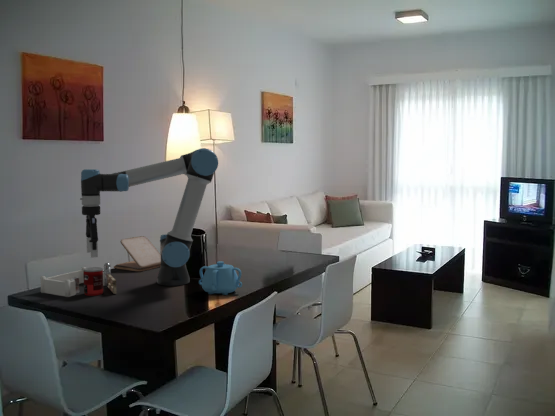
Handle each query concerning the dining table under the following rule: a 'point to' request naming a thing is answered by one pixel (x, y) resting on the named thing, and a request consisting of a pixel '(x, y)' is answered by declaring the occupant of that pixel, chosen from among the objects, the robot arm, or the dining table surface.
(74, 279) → the latch stile
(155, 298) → the dining table surface
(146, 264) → the case
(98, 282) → the canned food
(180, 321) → the dining table surface
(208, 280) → the decorative pot
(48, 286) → the pen fence
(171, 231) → the robot arm
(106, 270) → the hinge post
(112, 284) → the gate
